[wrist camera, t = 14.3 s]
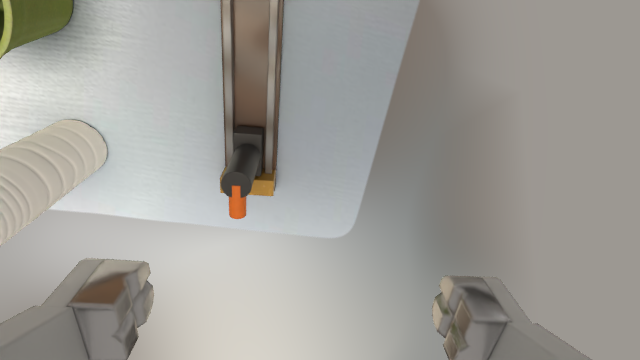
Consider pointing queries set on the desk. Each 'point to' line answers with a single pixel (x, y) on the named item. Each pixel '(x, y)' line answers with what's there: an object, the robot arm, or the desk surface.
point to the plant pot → (30, 20)
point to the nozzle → (243, 168)
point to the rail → (252, 71)
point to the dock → (260, 184)
